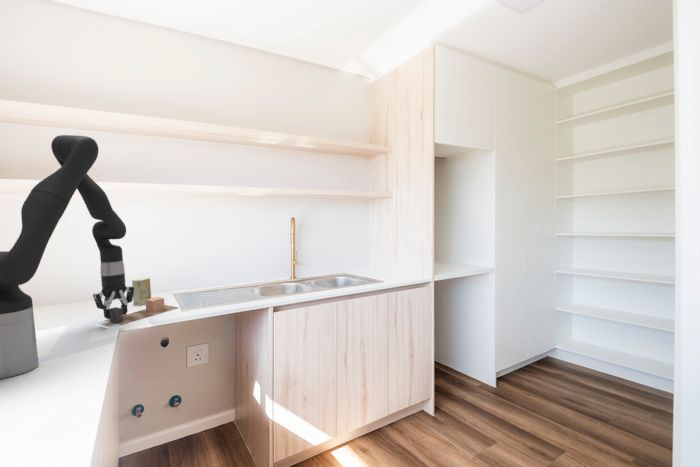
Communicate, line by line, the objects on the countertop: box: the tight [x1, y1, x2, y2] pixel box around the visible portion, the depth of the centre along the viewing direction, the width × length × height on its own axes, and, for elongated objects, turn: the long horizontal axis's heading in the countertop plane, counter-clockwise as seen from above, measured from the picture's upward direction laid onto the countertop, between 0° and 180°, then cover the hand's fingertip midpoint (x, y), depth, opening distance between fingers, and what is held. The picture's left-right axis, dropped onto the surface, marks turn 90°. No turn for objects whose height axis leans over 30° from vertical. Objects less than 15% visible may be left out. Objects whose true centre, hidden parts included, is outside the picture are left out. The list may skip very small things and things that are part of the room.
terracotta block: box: [145, 296, 166, 313], centre depth 148 cm, size 5×5×5 cm
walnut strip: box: [104, 304, 179, 326], centre depth 143 cm, size 24×12×6 cm, turn 151°
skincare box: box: [131, 277, 152, 307], centre depth 159 cm, size 6×4×12 cm
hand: (116, 316), depth 134 cm, fingers open, 5 cm apart
